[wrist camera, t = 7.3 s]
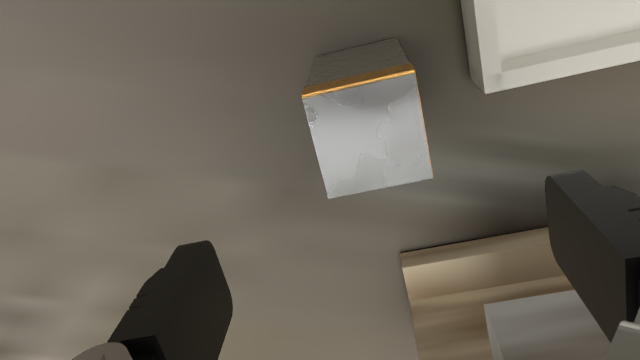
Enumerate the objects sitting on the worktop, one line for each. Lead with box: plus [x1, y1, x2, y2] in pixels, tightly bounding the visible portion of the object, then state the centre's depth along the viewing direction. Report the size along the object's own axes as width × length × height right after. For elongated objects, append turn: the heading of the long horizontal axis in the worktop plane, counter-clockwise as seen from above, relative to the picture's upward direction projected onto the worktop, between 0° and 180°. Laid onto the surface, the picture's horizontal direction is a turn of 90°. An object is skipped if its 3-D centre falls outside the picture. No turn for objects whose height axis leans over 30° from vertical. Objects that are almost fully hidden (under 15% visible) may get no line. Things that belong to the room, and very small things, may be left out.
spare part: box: [301, 38, 433, 199], centre depth 22 cm, size 4×4×8 cm
